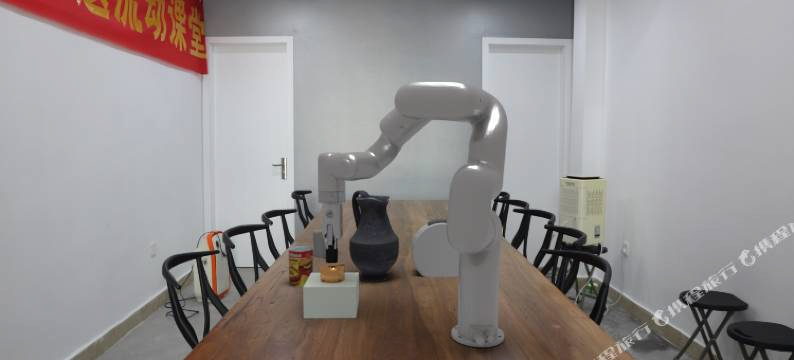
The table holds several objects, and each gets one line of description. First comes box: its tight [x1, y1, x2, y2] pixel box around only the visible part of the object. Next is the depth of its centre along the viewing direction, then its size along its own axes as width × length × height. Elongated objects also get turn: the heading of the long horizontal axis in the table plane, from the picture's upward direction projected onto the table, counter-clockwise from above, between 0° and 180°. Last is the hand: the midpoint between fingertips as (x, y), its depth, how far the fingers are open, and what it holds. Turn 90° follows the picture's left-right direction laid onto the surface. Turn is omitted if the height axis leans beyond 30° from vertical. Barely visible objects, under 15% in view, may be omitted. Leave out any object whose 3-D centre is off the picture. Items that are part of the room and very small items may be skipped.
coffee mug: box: [312, 228, 326, 259], centre depth 194 cm, size 13×10×10 cm
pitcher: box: [348, 189, 400, 282], centre depth 163 cm, size 17×21×30 cm
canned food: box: [288, 245, 314, 288], centre depth 155 cm, size 8×8×12 cm
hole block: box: [302, 271, 360, 319], centre depth 131 cm, size 14×14×8 cm
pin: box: [319, 262, 346, 283], centre depth 131 cm, size 7×7×12 cm
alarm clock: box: [410, 218, 460, 278], centre depth 167 cm, size 21×8×20 cm, turn 92°
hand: (331, 262), depth 131 cm, fingers closed
